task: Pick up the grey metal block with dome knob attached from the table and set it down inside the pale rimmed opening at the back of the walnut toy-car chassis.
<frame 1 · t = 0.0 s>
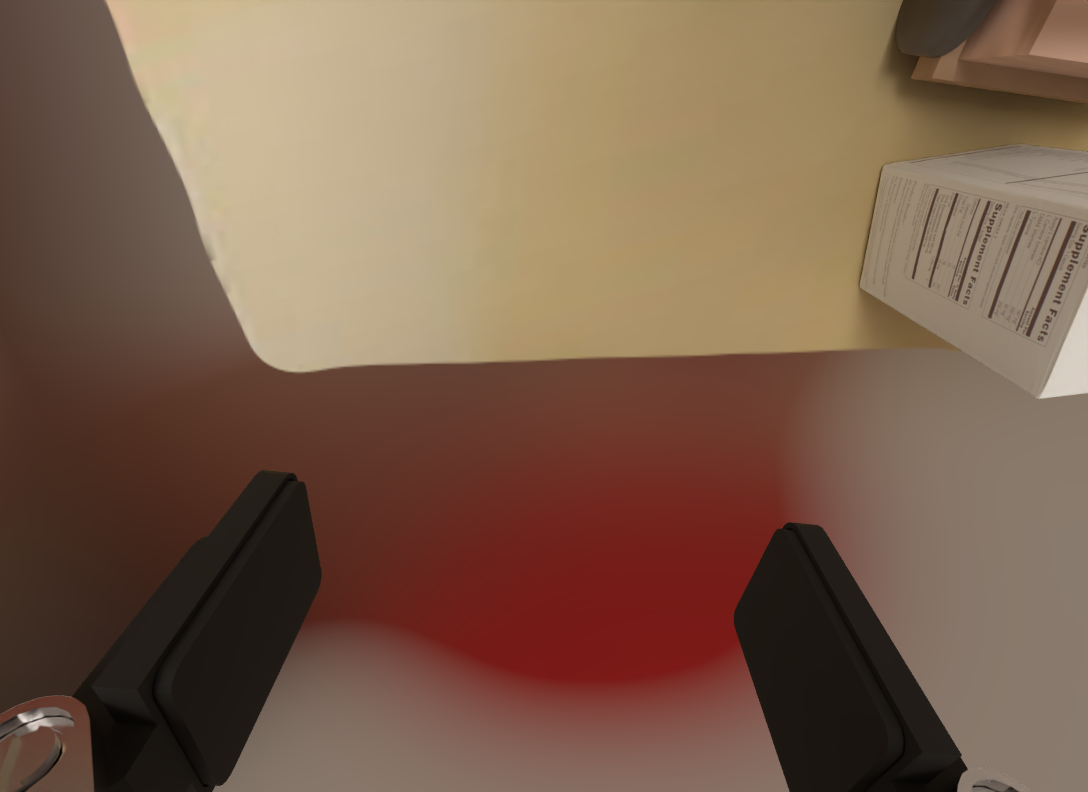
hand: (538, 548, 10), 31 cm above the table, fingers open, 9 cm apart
supplement box: (933, 220, 36), on the table
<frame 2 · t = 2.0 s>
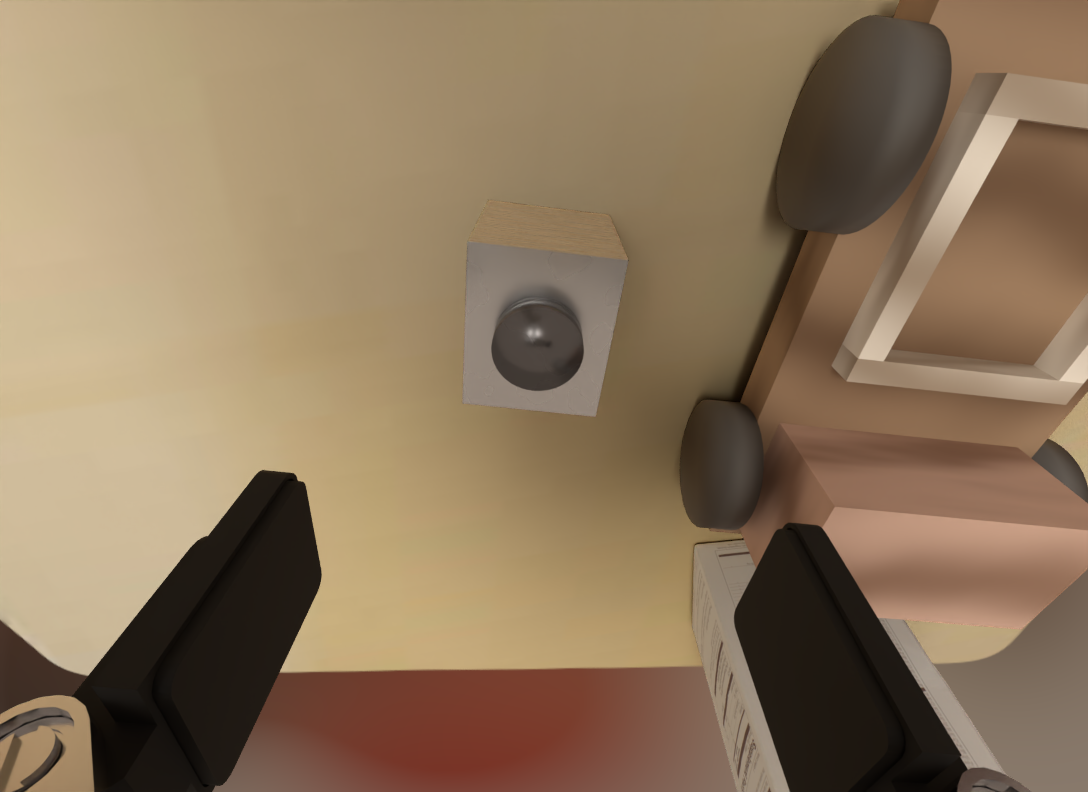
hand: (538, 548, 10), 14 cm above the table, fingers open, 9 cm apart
supplement box: (761, 578, 33), on the table
block with dome knob: (541, 277, 22), on the table
chassis: (899, 319, 23), on the table
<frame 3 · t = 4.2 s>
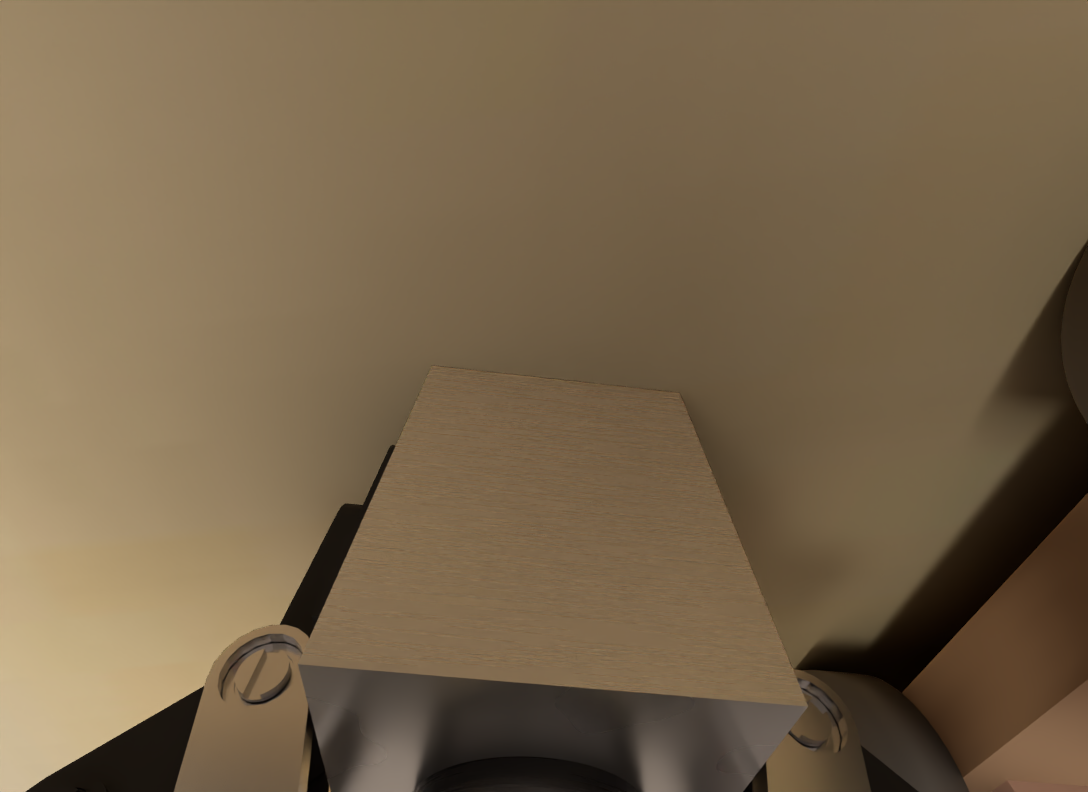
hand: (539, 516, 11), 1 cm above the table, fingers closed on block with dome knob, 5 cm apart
block with dome knob: (540, 490, 11), on the table, touching gripper
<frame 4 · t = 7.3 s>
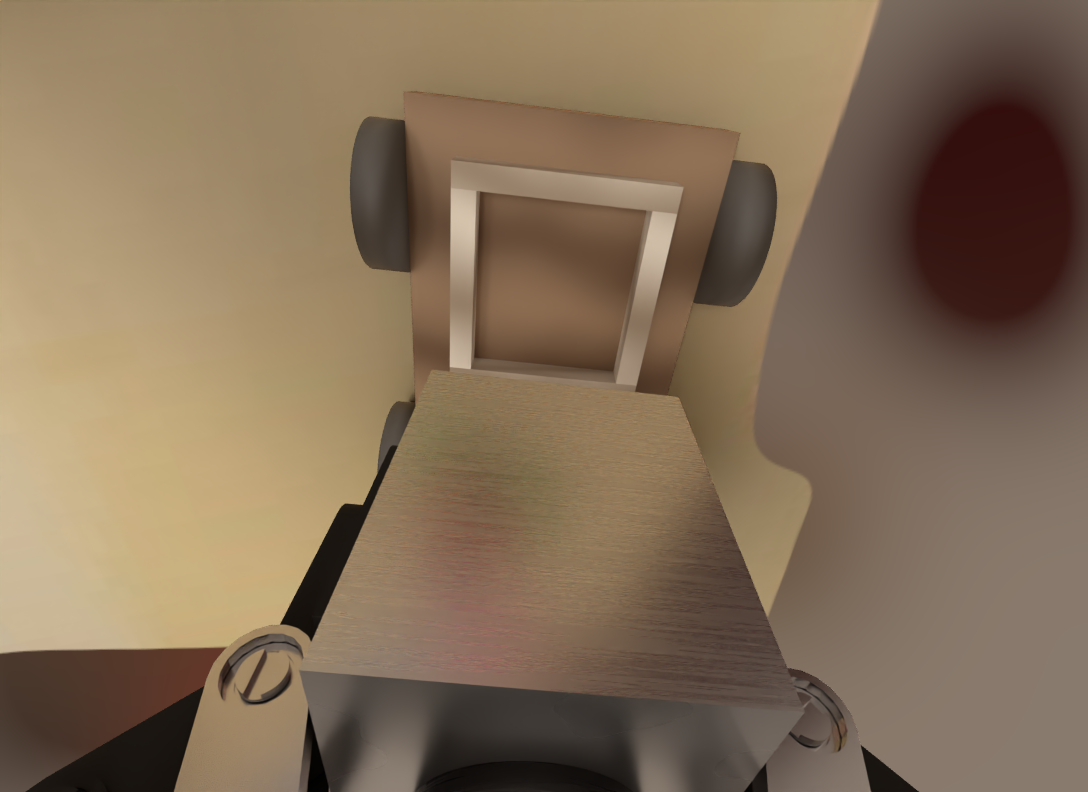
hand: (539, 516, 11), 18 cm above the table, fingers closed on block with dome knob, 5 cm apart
block with dome knob: (539, 493, 12), point 17 cm above the table, touching gripper
chassis: (545, 334, 28), on the table
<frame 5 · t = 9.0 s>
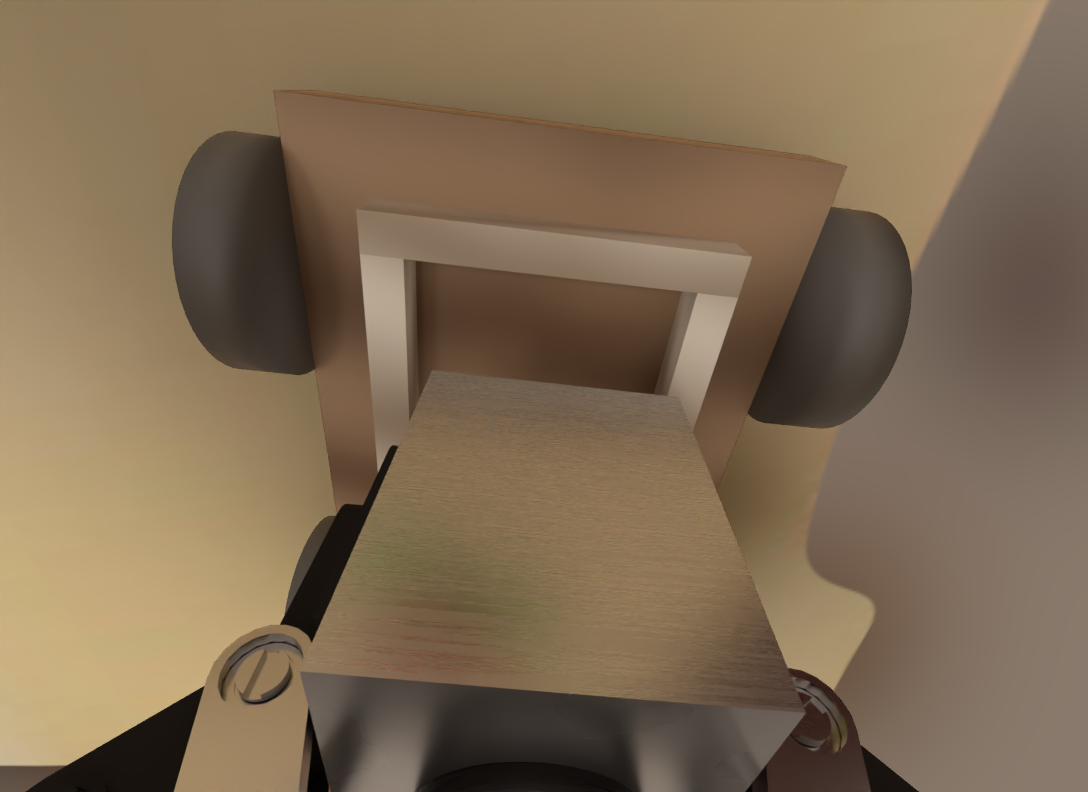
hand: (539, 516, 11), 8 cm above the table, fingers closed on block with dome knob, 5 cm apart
block with dome knob: (540, 494, 12), point 8 cm above the table, touching gripper
chassis: (527, 430, 20), on the table
when the fingers open (6 cm above the table, at t = 10.4 s): block with dome knob drops 1 cm, resting on chassis.
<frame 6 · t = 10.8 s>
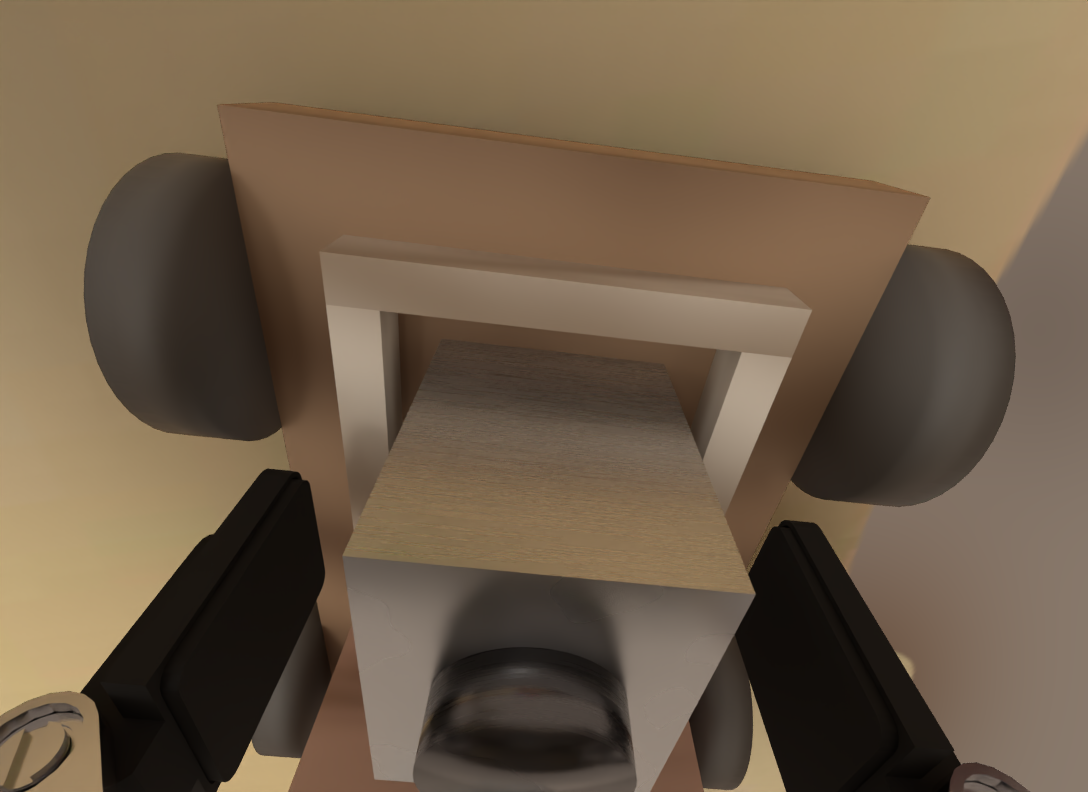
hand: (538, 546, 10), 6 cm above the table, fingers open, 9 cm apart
block with dome knob: (539, 456, 13), point 3 cm above the table, touching chassis
chassis: (531, 481, 18), on the table
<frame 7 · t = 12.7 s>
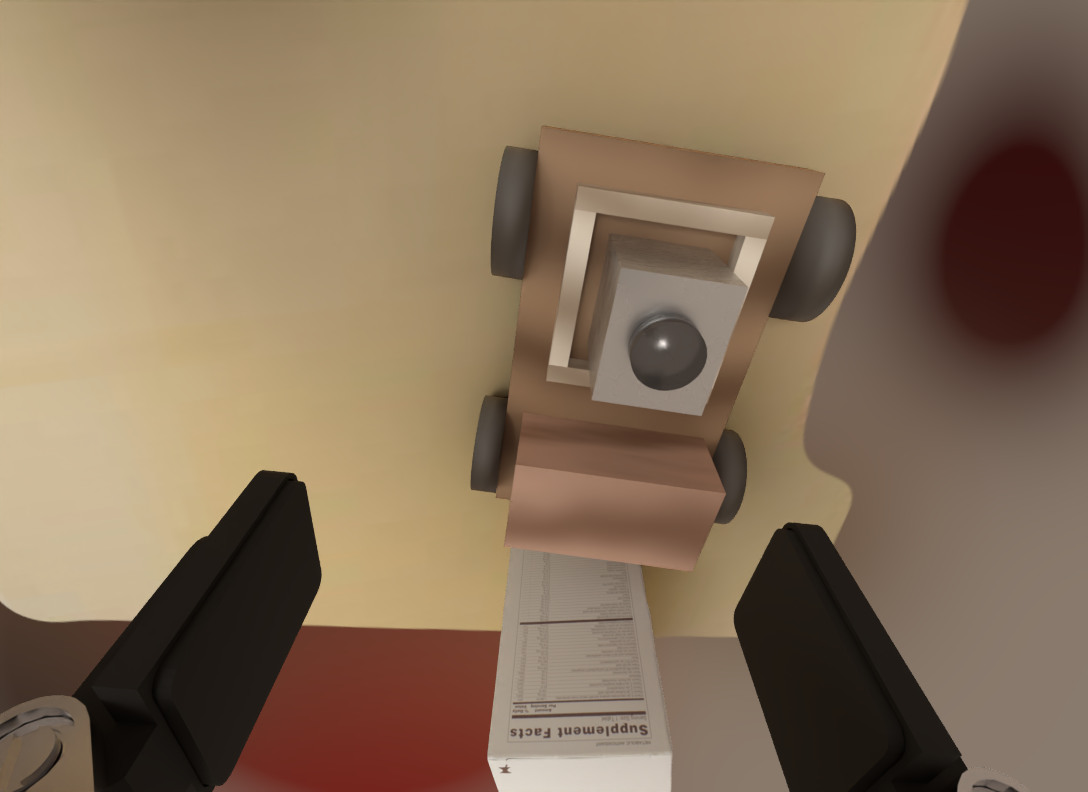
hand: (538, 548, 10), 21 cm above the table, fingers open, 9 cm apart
supplement box: (577, 551, 41), on the table
block with dome knob: (645, 299, 26), point 3 cm above the table, touching chassis
chassis: (623, 341, 31), on the table
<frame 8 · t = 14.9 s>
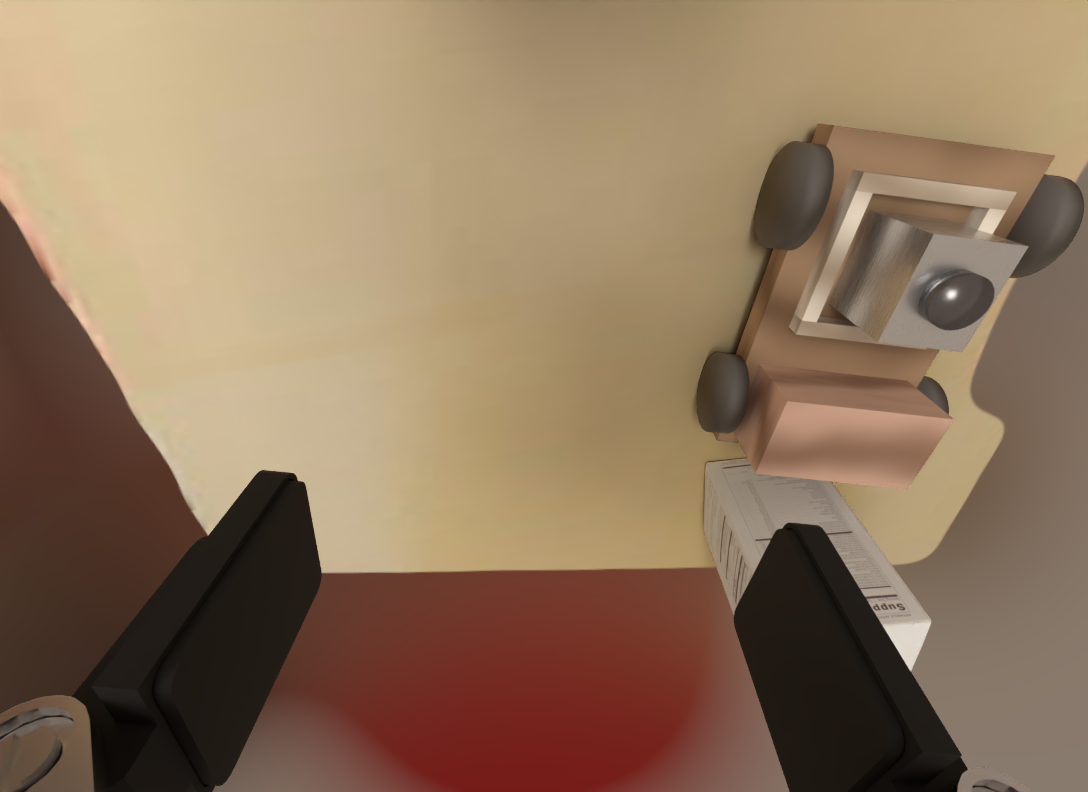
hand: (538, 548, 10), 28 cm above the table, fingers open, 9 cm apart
supplement box: (753, 491, 47), on the table
block with dome knob: (885, 263, 32), point 3 cm above the table, touching chassis
chassis: (833, 302, 37), on the table
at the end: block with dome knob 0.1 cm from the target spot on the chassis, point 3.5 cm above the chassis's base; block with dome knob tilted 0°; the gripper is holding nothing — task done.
